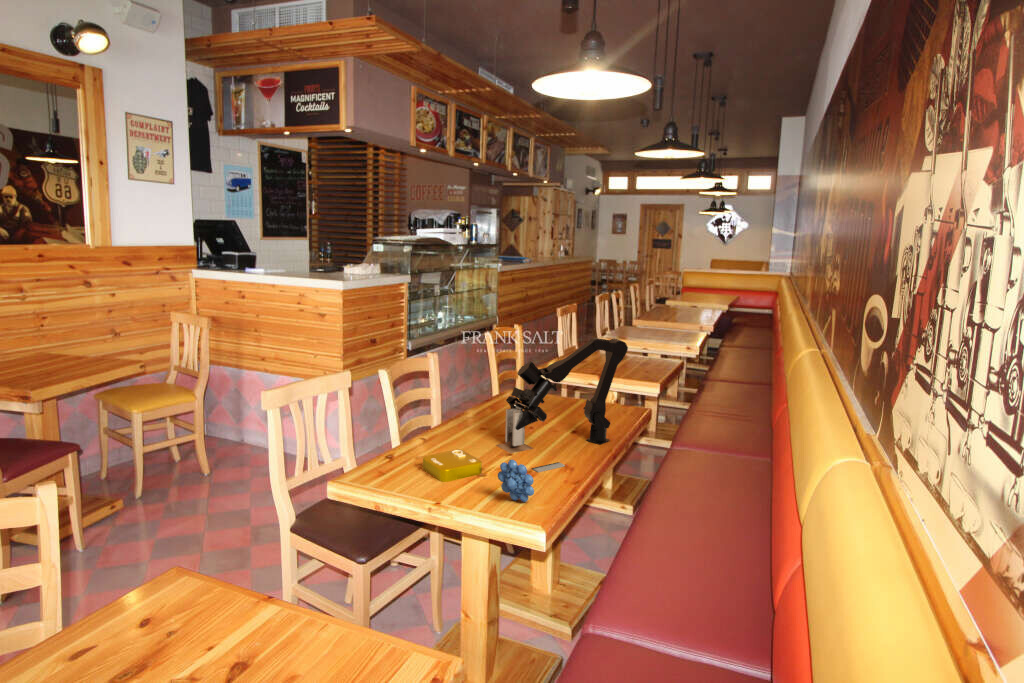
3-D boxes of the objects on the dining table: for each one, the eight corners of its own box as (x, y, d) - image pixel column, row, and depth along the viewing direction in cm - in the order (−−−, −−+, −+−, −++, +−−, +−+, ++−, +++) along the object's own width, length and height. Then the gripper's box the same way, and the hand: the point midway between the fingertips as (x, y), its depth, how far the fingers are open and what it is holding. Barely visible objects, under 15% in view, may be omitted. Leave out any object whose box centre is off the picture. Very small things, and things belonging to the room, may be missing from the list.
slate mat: (545, 456, 212) (545, 455, 212) (564, 466, 203) (564, 465, 203) (518, 461, 206) (518, 460, 206) (537, 472, 197) (538, 471, 197)
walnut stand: (518, 443, 225) (518, 430, 224) (534, 451, 217) (534, 437, 216) (495, 447, 219) (495, 434, 219) (510, 456, 211) (510, 442, 210)
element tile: (420, 469, 199) (420, 455, 198) (460, 460, 207) (460, 447, 206) (442, 484, 187) (442, 469, 186) (484, 474, 195) (484, 460, 194)
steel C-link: (515, 439, 221) (516, 407, 219) (524, 444, 217) (525, 411, 215) (505, 441, 219) (505, 409, 217) (514, 446, 214) (514, 413, 212)
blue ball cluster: (490, 501, 174) (490, 461, 172) (501, 493, 180) (502, 454, 178) (526, 510, 169) (527, 469, 167) (537, 501, 175) (538, 461, 173)
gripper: (510, 374, 224) (484, 407, 220) (540, 384, 208) (513, 420, 204) (527, 392, 229) (502, 425, 225) (558, 404, 214) (532, 439, 210)
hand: (511, 427), depth 216 cm, fingers closed on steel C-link, 6 cm apart
